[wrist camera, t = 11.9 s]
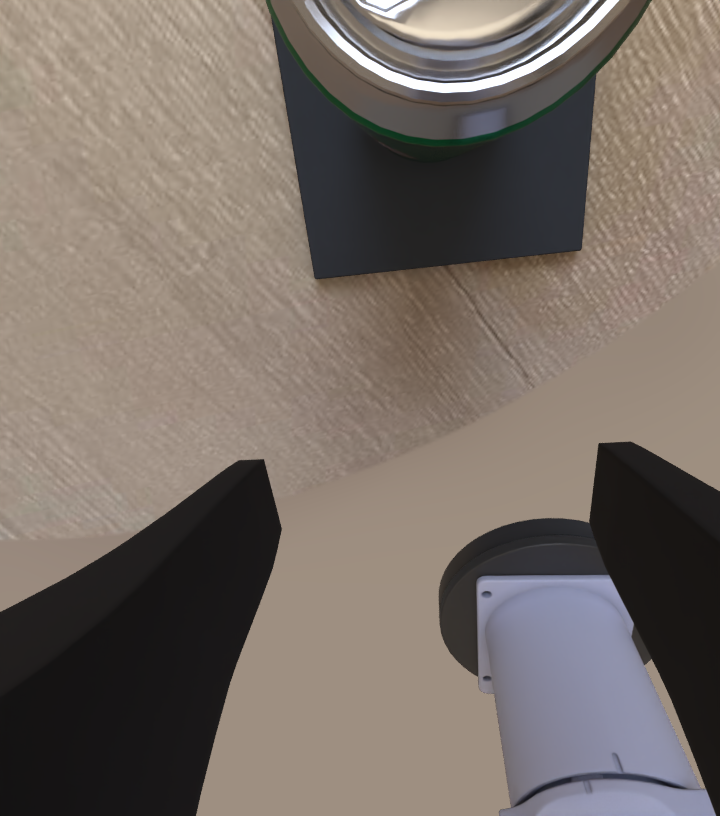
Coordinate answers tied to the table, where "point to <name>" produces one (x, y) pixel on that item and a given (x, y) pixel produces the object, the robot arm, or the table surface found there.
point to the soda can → (450, 63)
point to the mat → (434, 188)
